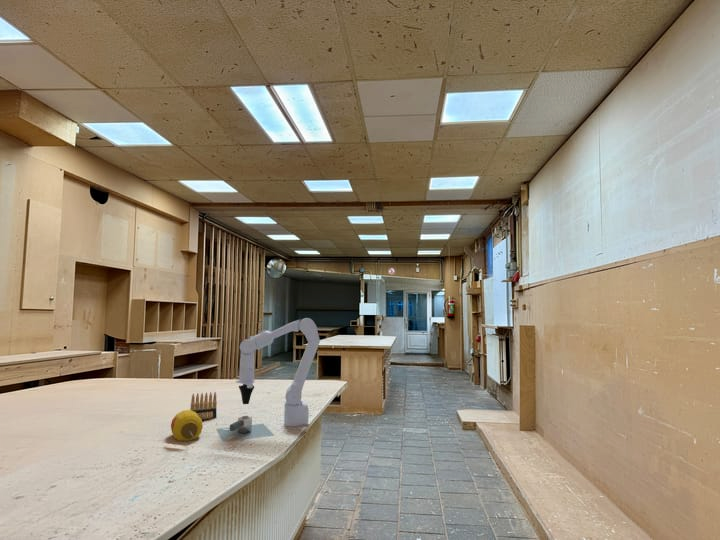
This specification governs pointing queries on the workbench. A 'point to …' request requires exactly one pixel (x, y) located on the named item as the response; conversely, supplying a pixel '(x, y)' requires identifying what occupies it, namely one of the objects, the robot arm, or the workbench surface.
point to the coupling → (242, 425)
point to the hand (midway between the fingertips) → (245, 403)
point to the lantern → (186, 425)
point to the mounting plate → (256, 432)
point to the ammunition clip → (207, 409)
